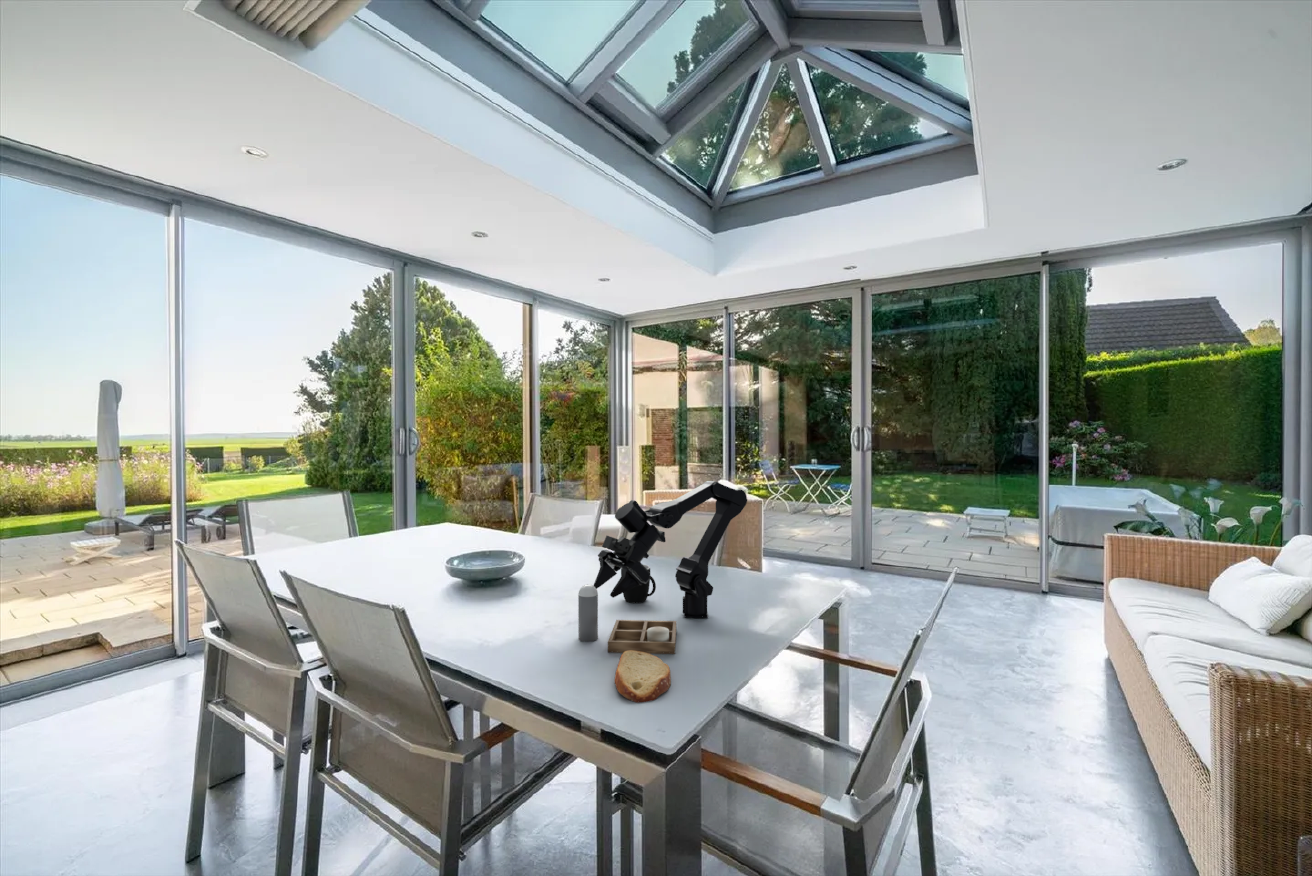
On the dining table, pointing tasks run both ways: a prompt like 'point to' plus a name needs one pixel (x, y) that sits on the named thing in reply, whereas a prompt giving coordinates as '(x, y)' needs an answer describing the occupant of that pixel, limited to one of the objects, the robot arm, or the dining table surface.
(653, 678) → the slice of bread
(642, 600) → the mug
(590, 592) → the grey rounded cylinder
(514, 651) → the dining table surface
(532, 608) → the dining table surface
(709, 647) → the dining table surface
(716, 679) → the dining table surface
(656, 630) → the caddy
